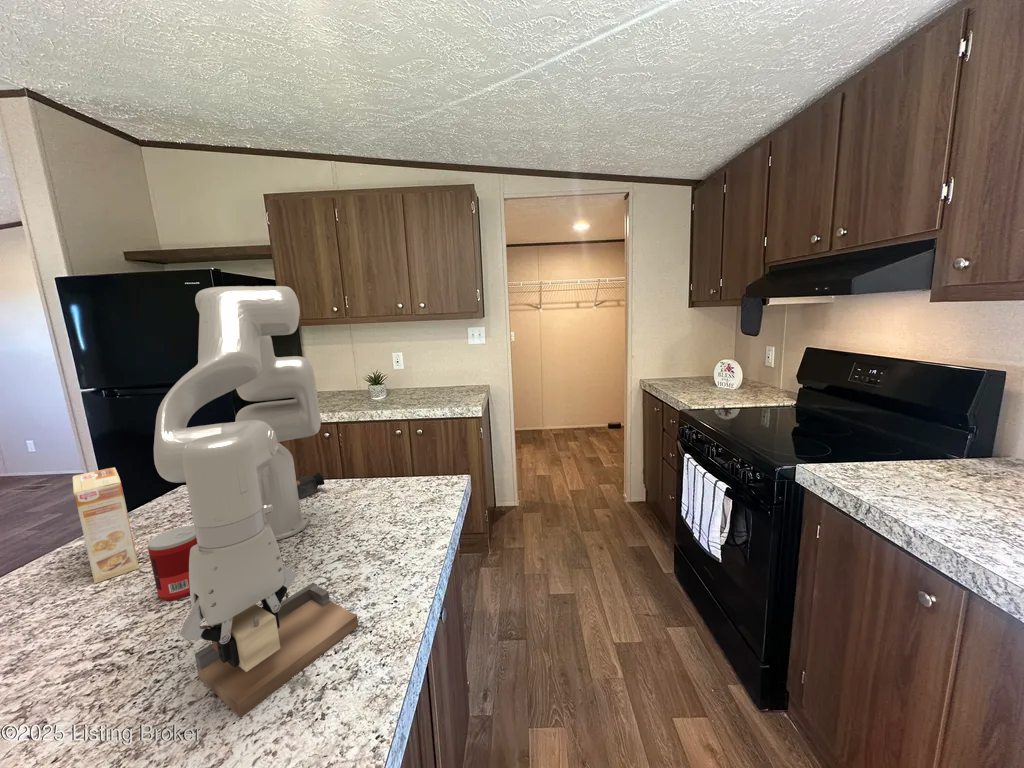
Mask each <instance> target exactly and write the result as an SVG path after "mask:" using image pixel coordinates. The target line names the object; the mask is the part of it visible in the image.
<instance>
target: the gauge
mask: <svg viewBox="0 0 1024 768" xmlns="http://www.w3.org/2000/svg"><path fill="white" fill-rule="evenodd" d="M231 635H232V637H234V638H235V640H236V644H237V650H238V656H239V661H240V663H239V665H238V666H240V667H241V668H242V669H243V670H245V671H246V672H247V671H249V670H250V669H252V668H253V667H254V666H256V665H257V664H259V663H260V662H262V661H263V660H265V659H266V658H267V657H269V656H270V655H272V654H273V653H275V652H276V651H277V650H279V649H280V641H279V635H278V629H277V622H276V616H274V615H273V614H271V613H269V612H268V611H266V610H265V609H263V608H262V606H260V605H258V603H256V604H254V605H253V606H251V607H249V608H248V609H246V610H244V611H242V612H241V613H239V614H237V615H235V616H234V617H233V618H232V628H231ZM211 644H212V646H213V648H214V649H215V650H217V651H218V647H217V642H214V641H211Z"/></svg>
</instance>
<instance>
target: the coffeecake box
mask: <svg viewBox="0 0 1024 768" xmlns="http://www.w3.org/2000/svg"><path fill="white" fill-rule="evenodd" d="M72 490H73V496H74V498H75V499H74V500H75V501H76V507H77V512H78V517H79V520H80V525H81V529H82V534H83V539H84V543H85V547H86V553H87V557H88V560H89V565H90V570H91V574H92V579H93V583H94V584H99V583H102V582H103V581H106V580H109V579H112V578H115V577H117V576H121V575H124V574H126V573H130V572H133V571H135V570H138V569H140V566H139V561H138V556H137V553H136V548H135V542H134V537H133V532H132V528H131V523H130V518H129V514H128V509H127V504H126V499H125V495H124V491H123V490H124V489H123V486H122V482H121V478H120V476H119V473H118V471H117V469H116V467H109V468H104V469H100V470H99V469H98V470H95V471H90V472H86V473H81V474H76V475H73V476H72Z"/></svg>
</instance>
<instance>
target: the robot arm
mask: <svg viewBox="0 0 1024 768" xmlns="http://www.w3.org/2000/svg"><path fill="white" fill-rule="evenodd" d="M194 299H195V300H194V302H195V306H196V309H197V311H198V313H199V320H198V321H199V323H198V347H197V348H198V351H197V353H198V354H197V361H198V362H197V364H196V365H195V366H194V367H192V369H190V370H189V371H188V372H186V373H185V374H184V375H183V376H181V378H180V379H178V381H176V383H175V384H174V385H173V386H172V387H171V388H170V390H168V392H167V393H166V395H164V398H163V399H162V401H161V402H160V405H159V406H158V409H157V413H156V418H155V429H154V439H153V440H154V441H153V442H154V443H153V460H154V465H155V469H156V471H157V473H158V474H159V476H160V477H161V478H162V479H164V480H165V481H167V482H170V483H176V484H177V483H186V488H187V489H186V490H187V493H188V498H189V499H188V501H189V505H190V510H191V516H192V521H193V526H194V527H195V533H196V538H197V544H196V545H194V546H193V547H192V548H191V549H190V557H189V584H190V595H189V596H190V597H189V598H190V604H191V610H190V612H189V614H188V616H187V619H186V620H185V622H184V624H183V626H182V629H180V632H179V636H180V637H181V638H183V639H184V640H186V641H192V640H193V641H199V640H204V641H209V642H212V641H214V642H217V647H218V652H219V657H220V660H221V661H222V662H223V663H226V662H228V663H229V664H230V665H231V666H233V667H234V668H235V667H237V666H238V665H239V663H240V661H239V656H238V650H237V644H236V640H235V638H234V637H232V635H231V628H232V618H233V617H234V616H235V615H237V614H239V613H241V612H242V611H244V610H246V609H248V608H249V607H251V606H253V605H254V604H258V603H259V602H260V603H261V605H262V606H261V608H263V609H265V610H266V611H268V612H269V613H271V614H273V615H274V616H276V622H277V629H278V628H279V627H280V624H279V618H278V612H277V611H279V609H280V607H281V605H280V603H281V602H282V601H283V600H284V597H286V594H287V592H288V588H290V587H291V585H292V584H293V582H294V581H295V579H297V576H298V574H297V573H296V572H295V571H293V570H292V569H291V568H289V567H287V566H285V565H284V562H283V561H284V560H283V558H282V554H281V550H280V547H279V544H278V541H281V540H285V539H286V538H290V537H292V536H294V535H296V534H298V533H300V532H302V531H304V529H306V528H307V527H308V525H309V523H310V520H309V515H307V514H306V513H303V512H301V510H302V509H301V503H300V499H299V496H298V489H297V482H296V480H297V477H296V476H297V475H296V470H295V462H294V457H293V455H292V453H291V451H289V450H288V448H287V447H285V446H284V445H283V444H282V443H280V442H284V441H289V440H295V439H296V440H297V439H303V438H308V437H312V436H315V435H317V434H318V432H319V431H320V429H321V424H322V421H321V420H322V419H321V413H320V412H321V411H320V410H321V409H320V404H319V397H318V390H317V384H316V382H317V381H316V378H315V377H316V376H315V372H314V369H313V365H312V363H311V362H310V360H308V358H306V357H303V356H298V355H296V356H295V355H293V356H282V357H281V356H280V357H279V356H278V357H277V356H275V351H274V345H273V340H272V336H286V335H287V336H288V335H292V334H294V333H295V332H296V331H297V329H298V326H299V320H300V315H301V314H300V312H301V311H300V303H299V300H298V297H297V295H296V292H295V291H294V290H293V289H292V288H291V287H289V286H285V285H275V286H274V285H261V286H260V285H255V286H251V285H250V286H249V285H248V286H247V285H246V286H245V285H236V286H235V285H234V286H233V285H232V286H231V285H230V286H227V285H226V286H213V287H208V288H204V289H201V290H199V291H198V292H197V293H196V294H195V298H194ZM234 390H236V393H237V394H238V396H239V397H240V399H242V400H244V401H247V402H259V403H253V404H249V405H246V406H244V407H243V408H241V409H240V410H239V411H238V412H237V413H236V416H235V419H234V420H235V421H234V422H233V421H231V422H221V423H220V422H219V423H214V424H206V425H197V426H192V427H191V426H190V427H187V426H188V423H189V421H190V419H192V416H193V415H194V414H195V413H196V412H197V411H198V410H199V409H200V408H202V407H203V406H205V405H206V404H208V403H210V402H212V401H213V400H215V399H217V398H219V397H221V396H224V395H225V394H227V393H230V392H232V391H234ZM289 398H292V399H289ZM281 399H284V400H281ZM285 399H286V400H285ZM263 401H265V402H263ZM203 620H205V623H206V624H204V625H202V624H201V623H202V622H203Z"/></svg>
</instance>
